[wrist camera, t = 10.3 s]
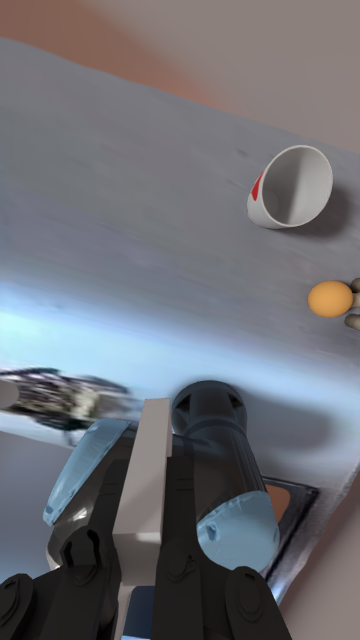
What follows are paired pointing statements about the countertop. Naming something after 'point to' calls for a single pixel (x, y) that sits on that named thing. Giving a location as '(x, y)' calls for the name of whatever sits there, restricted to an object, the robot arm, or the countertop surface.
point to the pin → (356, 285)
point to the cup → (291, 189)
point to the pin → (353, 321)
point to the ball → (330, 299)
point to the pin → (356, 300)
